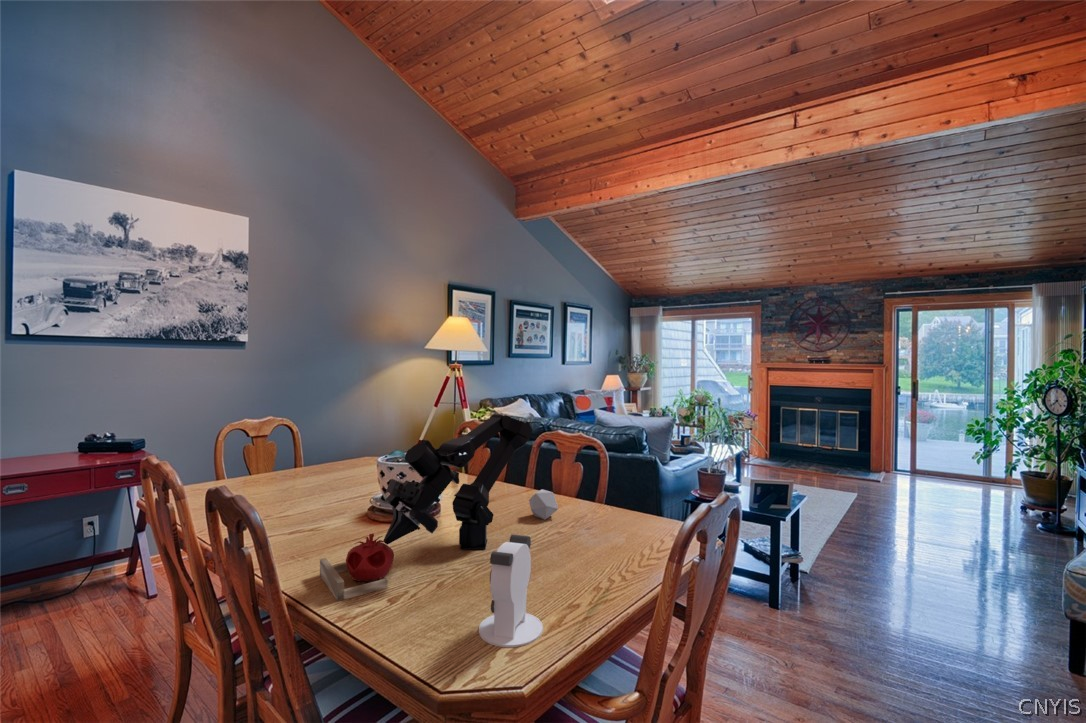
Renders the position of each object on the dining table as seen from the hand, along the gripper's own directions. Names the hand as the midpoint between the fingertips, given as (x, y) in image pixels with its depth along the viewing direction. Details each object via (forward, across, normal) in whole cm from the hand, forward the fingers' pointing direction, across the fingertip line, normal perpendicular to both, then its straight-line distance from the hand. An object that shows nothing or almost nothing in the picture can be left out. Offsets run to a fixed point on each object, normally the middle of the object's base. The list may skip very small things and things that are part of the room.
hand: (385, 543), depth 111 cm
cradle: (+10, 0, 0) cm, 10 cm away
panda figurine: (-2, +36, +12) cm, 38 cm away
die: (-34, -12, +43) cm, 56 cm away
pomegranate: (+7, 0, +3) cm, 7 cm away
